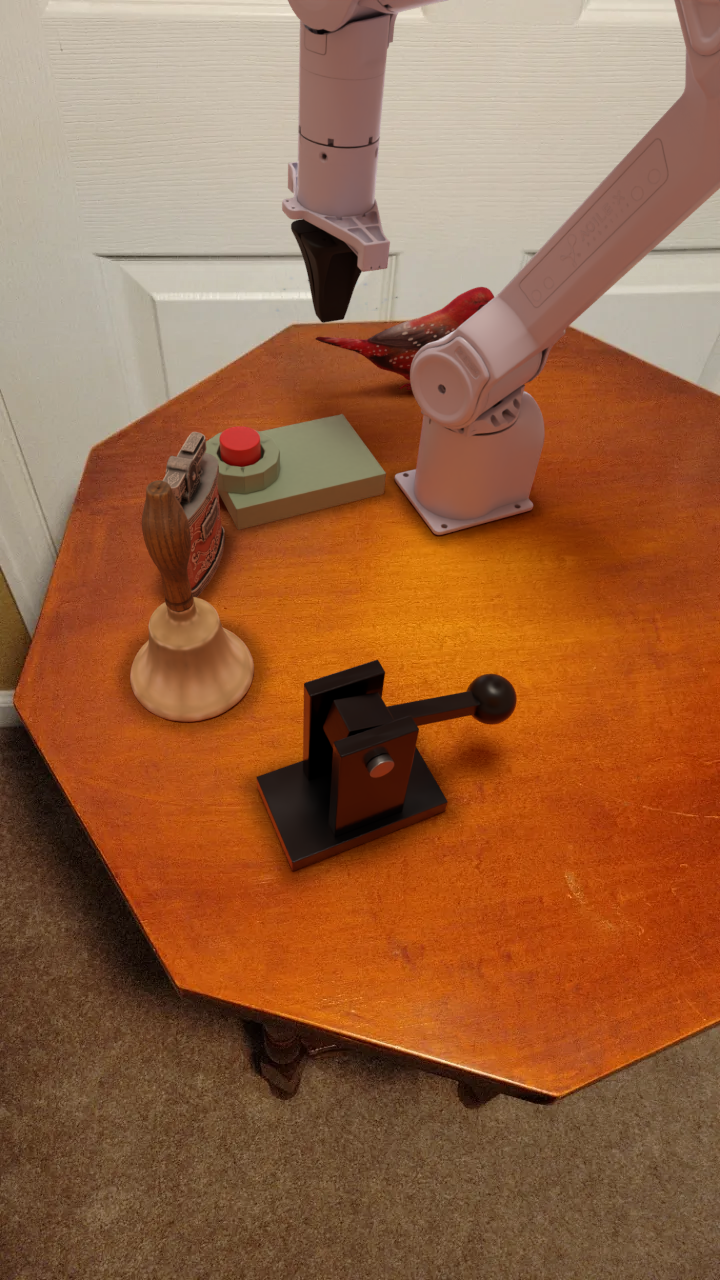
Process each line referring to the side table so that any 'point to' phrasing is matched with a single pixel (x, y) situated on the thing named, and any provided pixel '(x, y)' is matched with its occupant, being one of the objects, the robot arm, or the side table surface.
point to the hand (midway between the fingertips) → (330, 317)
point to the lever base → (348, 777)
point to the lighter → (198, 507)
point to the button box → (299, 472)
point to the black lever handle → (423, 708)
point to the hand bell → (184, 629)
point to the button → (240, 446)
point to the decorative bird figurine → (414, 334)
